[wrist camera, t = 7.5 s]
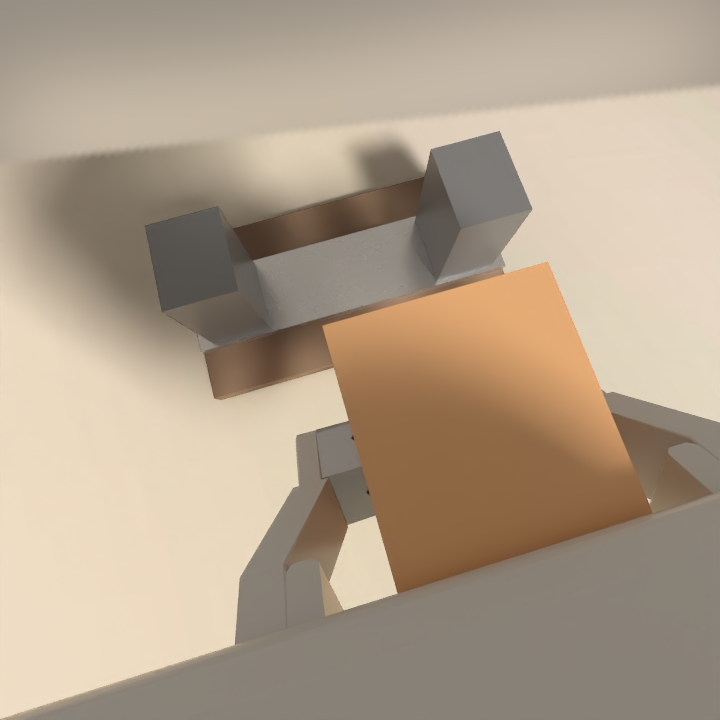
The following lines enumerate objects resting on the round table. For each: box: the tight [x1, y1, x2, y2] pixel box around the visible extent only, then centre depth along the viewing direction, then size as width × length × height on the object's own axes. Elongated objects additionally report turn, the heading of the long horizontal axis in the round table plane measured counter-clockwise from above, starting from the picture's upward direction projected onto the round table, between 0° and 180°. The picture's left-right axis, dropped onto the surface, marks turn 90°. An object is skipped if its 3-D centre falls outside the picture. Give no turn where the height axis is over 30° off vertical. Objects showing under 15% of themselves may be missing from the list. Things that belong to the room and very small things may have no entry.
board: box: [205, 177, 504, 400], centre depth 29 cm, size 22×12×1 cm, turn 106°
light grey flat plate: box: [197, 216, 505, 354], centre depth 28 cm, size 22×6×1 cm, turn 106°
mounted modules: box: [145, 131, 532, 344], centre depth 24 cm, size 20×5×7 cm, turn 106°
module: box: [322, 262, 653, 593], centre depth 10 cm, size 4×5×9 cm
